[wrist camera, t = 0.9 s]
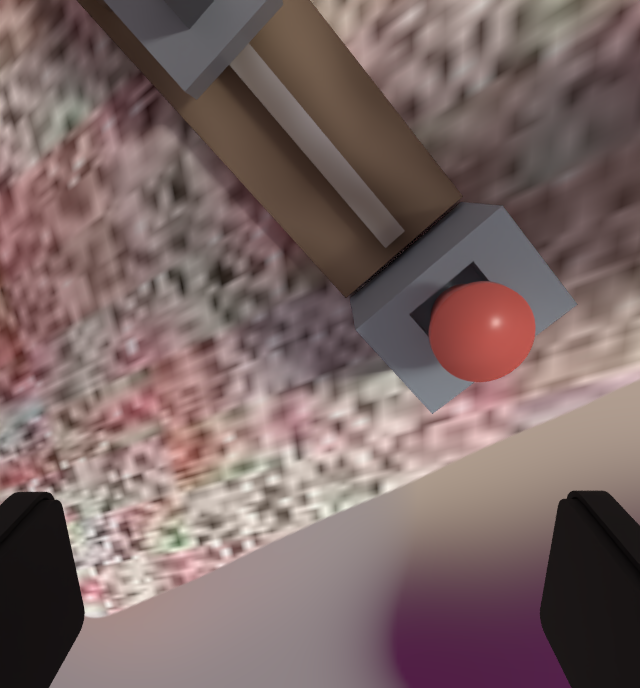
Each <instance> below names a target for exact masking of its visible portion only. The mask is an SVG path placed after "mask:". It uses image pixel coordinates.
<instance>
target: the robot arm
mask: <svg viewBox="0 0 640 688" xmlns="http://www.w3.org/2000/svg"><path fill="white" fill-rule="evenodd" d="M84 614H85V612H84V605H83V600H82V596H81V591H80V586H79V582H78V577H77V572H76V567H75V563H74V558H73V553H72V549H71V544H70V539H69V535H68V530H67V525H66V521H65V516H64V511H63V507H62V504H61V502H60V501H58V500H54V497H53V496H52V494H51V493H48V492H17V493H14V494H12V495H11V496H9V497H8V498H7V499H6V500H5V501H4V502H3V503H2V504H1V505H0V688H49V686H50V685H51V683H52V681H53V679H54V678H55V676H56V674H57V672H58V670H59V668H60V667H61V665H62V663H63V661H64V660H65V658H66V656H67V654H68V652H69V651H70V649H71V647H72V645H73V643H74V642H75V640H76V638H77V636H78V634H79V633H80V630H81V628H82V625H83V621H84ZM540 619H541V624H542V628H543V631H544V633H545V635H546V637H547V639H548V641H549V643H550V645H551V647H552V649H553V651H554V653H555V655H556V657H557V659H558V661H559V663H560V665H561V667H562V669H563V672H564V673H565V675H566V678H567V680H568V681H569V684H570V686H571V687H572V688H640V526H639V525H638V523H637V522H635V520H634V519H633V518H632V517H631V516H630V515H629V514H628V513H627V512H626V511H625V510H624V509H623V508H622V507H621V505H620V504H619V503H618V502H617V501H616V500H615V499H614V498H613V497H612V496H611V495H610V494H609V493H607V492H605V491H572V492H570V493H569V494H568V496H567V499H562V500H560V502H559V505H558V509H557V515H556V521H555V526H554V532H553V538H552V544H551V550H550V555H549V561H548V567H547V573H546V578H545V584H544V590H543V597H542V601H541V607H540Z"/></svg>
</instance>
